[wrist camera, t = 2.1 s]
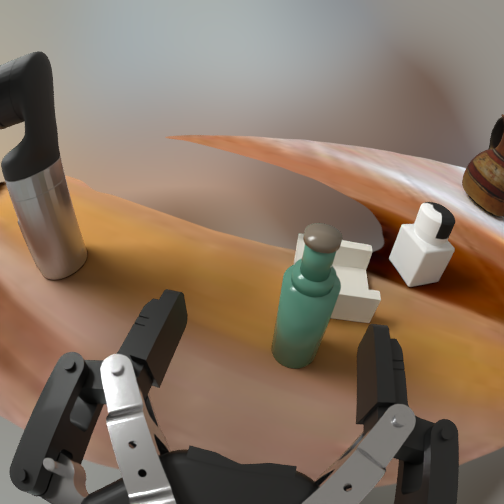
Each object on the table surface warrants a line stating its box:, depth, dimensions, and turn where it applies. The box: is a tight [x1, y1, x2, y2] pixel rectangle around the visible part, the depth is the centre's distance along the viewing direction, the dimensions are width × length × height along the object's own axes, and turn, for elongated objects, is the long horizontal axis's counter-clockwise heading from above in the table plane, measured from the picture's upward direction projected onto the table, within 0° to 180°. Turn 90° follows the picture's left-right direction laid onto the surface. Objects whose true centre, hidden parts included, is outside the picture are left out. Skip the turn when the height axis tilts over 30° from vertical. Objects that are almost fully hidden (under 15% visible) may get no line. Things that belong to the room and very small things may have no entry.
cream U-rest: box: [294, 233, 381, 323], centre depth 39 cm, size 11×11×4 cm
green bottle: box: [272, 223, 342, 368], centre depth 28 cm, size 5×5×16 cm
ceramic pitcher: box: [462, 115, 504, 216], centre depth 60 cm, size 20×20×30 cm
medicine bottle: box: [389, 202, 455, 287], centre depth 40 cm, size 7×7×12 cm
